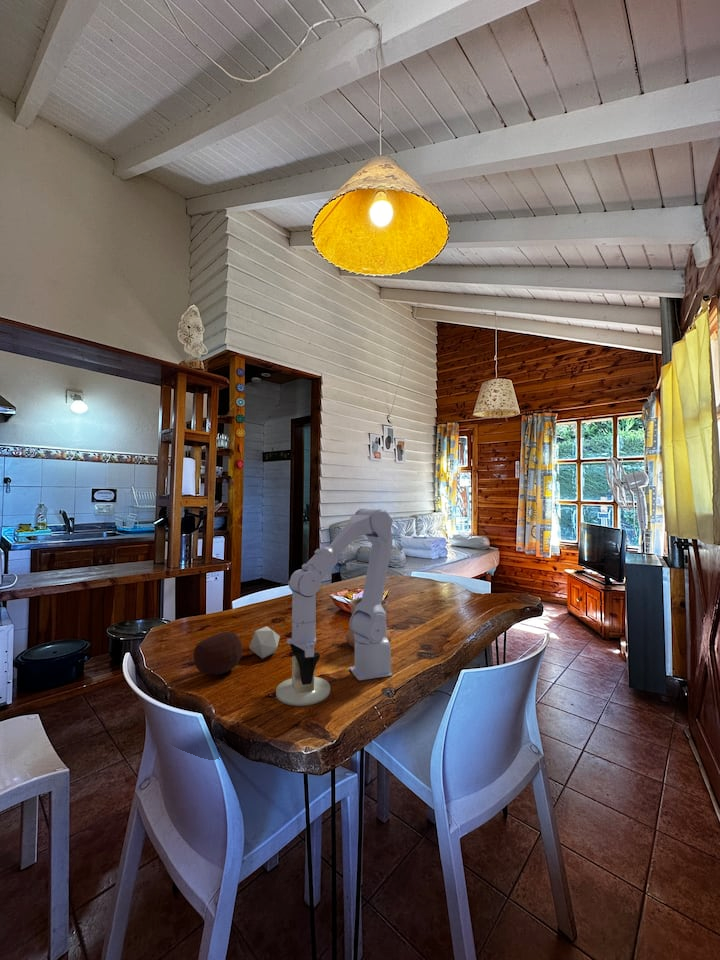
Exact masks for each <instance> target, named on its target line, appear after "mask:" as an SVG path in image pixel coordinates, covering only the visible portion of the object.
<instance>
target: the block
mask: <svg viewBox="0 0 720 960" xmlns="http://www.w3.org/2000/svg"><path fill="white" fill-rule="evenodd" d="M291 659H292V660H291V664H292V665H291V678H292V687H293V689H294V692H295V694H296V693H302V692H308V691H314V677H315V672H314V673H313V678H312V682H311V684H306V685H302V682H301V676H300V669H299V664H298V661H297V659H296V657H295V656H293V655H292V657H291Z"/></svg>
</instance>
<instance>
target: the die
mask: <svg viewBox="0 0 720 960" xmlns="http://www.w3.org/2000/svg"><path fill="white" fill-rule="evenodd" d="M280 638H281V636H280V635H279V634H277V632H275V631H274V630H272V629H271V628H270V627H269V626H263V627H262V628H259V629H257V630H255V631H254V633H253V637H252V638H251V642H250V644H249V648H248V649H250V651H252V653H253V652H254V653H255V654H256V655H257V656H258V657H260V658H261V659H262V660H263V659H265V658H267V657H269V656H271V655H273V654H275V652H276V650H277V649H278V646H279V641H280Z"/></svg>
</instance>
